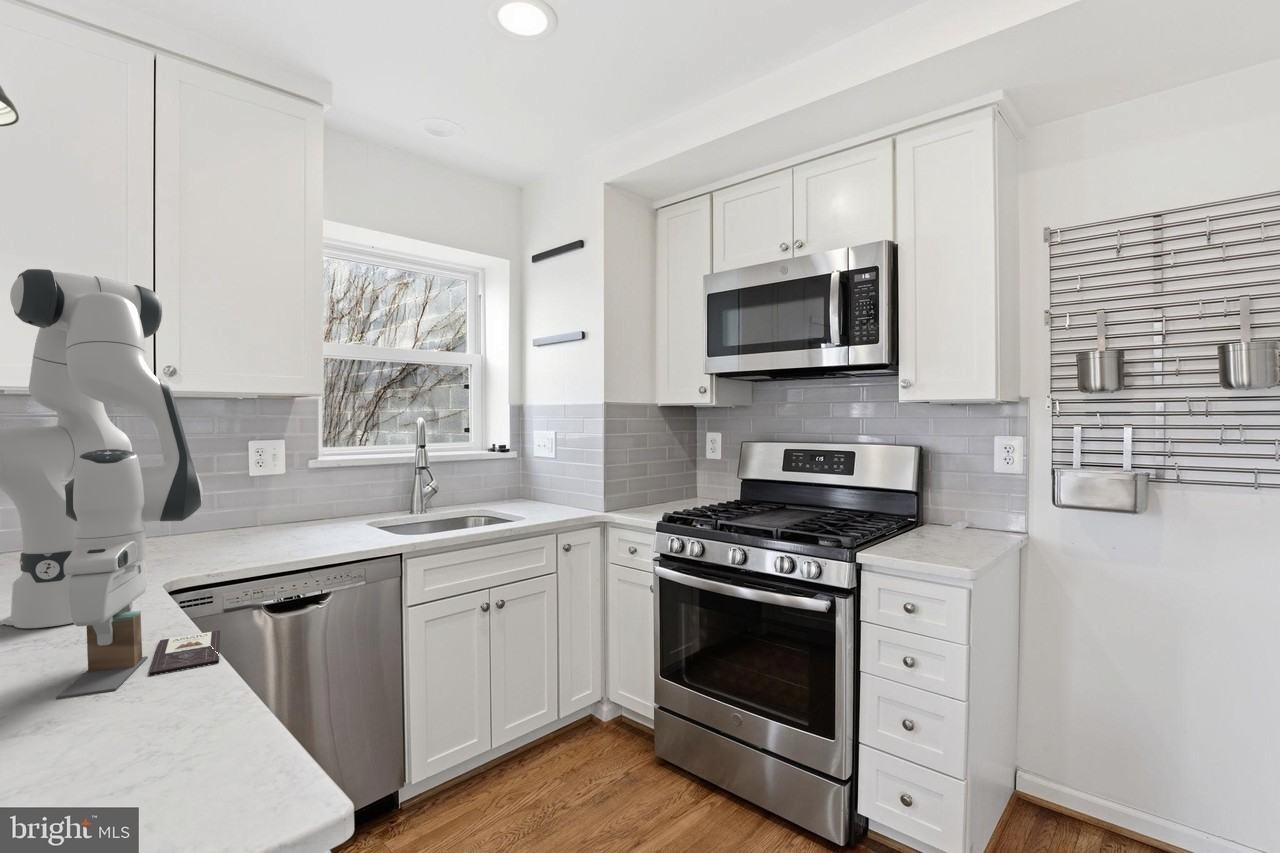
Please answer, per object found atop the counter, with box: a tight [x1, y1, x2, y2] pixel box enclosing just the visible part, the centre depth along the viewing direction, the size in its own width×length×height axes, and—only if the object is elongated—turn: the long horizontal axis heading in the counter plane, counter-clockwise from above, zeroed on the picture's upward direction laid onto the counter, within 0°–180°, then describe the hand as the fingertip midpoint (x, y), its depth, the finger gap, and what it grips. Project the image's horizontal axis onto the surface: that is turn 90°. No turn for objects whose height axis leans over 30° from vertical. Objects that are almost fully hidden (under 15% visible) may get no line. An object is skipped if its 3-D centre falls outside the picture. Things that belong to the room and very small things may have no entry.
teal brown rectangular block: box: [86, 610, 143, 673], centre depth 104 cm, size 4×6×8 cm, turn 112°
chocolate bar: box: [149, 630, 221, 676], centre depth 111 cm, size 9×1×18 cm
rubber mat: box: [55, 655, 149, 700], centre depth 101 cm, size 14×7×1 cm, turn 22°
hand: (114, 637), depth 104 cm, fingers open, 5 cm apart
